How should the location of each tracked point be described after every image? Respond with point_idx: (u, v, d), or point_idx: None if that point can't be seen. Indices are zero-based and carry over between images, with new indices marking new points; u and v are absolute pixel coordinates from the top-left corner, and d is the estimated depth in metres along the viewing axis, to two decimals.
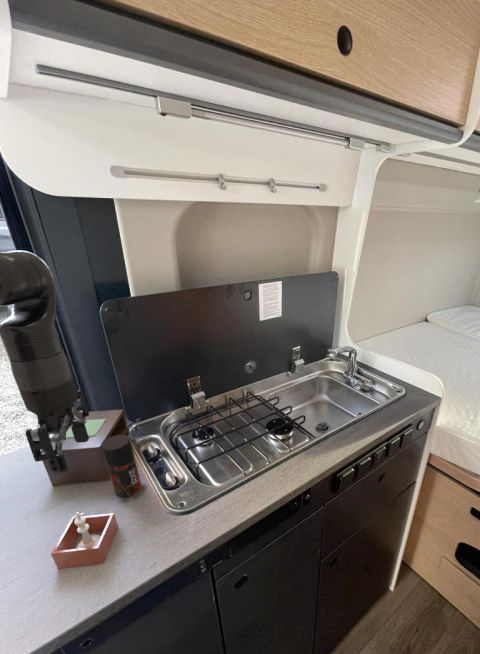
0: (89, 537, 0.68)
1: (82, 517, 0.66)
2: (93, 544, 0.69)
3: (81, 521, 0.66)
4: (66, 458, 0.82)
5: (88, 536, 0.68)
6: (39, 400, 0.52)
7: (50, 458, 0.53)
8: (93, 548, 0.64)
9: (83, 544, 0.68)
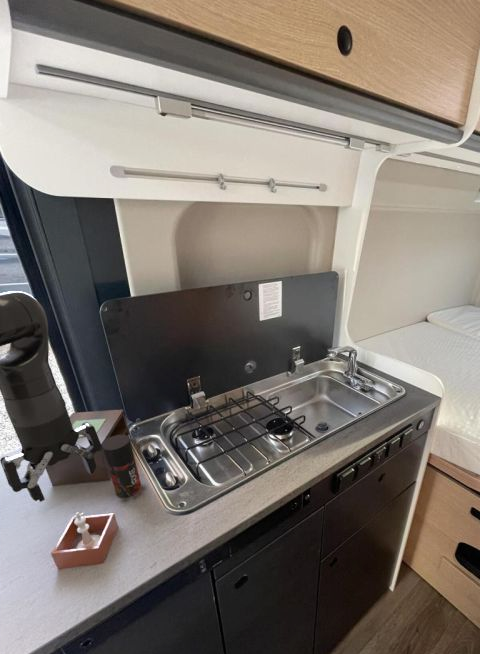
0: (89, 537, 0.68)
1: (82, 517, 0.66)
2: (93, 544, 0.69)
3: (81, 521, 0.66)
4: None
5: (88, 536, 0.68)
6: (17, 434, 0.53)
7: (13, 490, 0.54)
8: (93, 548, 0.64)
9: (83, 544, 0.68)
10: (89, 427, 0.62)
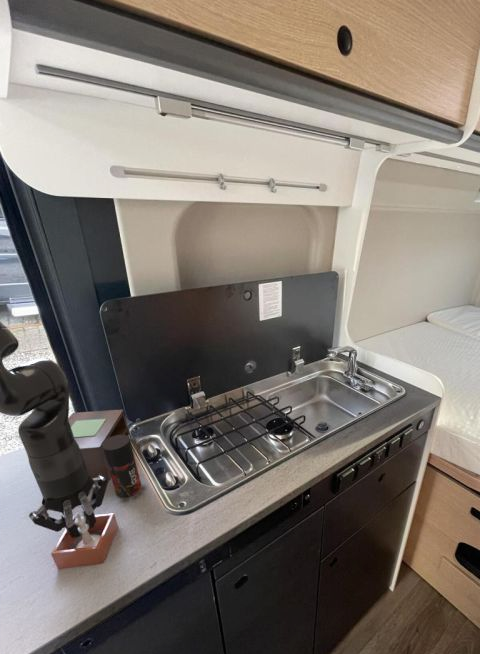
0: (89, 537, 0.68)
1: (82, 517, 0.66)
2: (93, 544, 0.69)
3: (81, 521, 0.66)
4: None
5: (88, 536, 0.68)
6: (39, 486, 0.58)
7: None
8: (93, 548, 0.64)
9: (83, 544, 0.68)
10: (105, 480, 0.67)
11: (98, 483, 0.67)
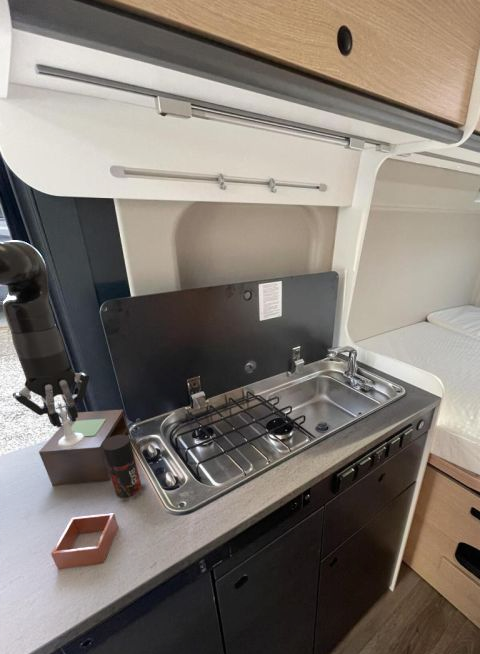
0: (71, 431, 0.72)
1: (64, 409, 0.71)
2: (74, 438, 0.73)
3: (63, 412, 0.70)
4: (66, 458, 0.82)
5: (70, 429, 0.72)
6: (22, 365, 0.62)
7: (38, 414, 0.66)
8: (93, 548, 0.64)
9: (65, 437, 0.72)
10: (86, 375, 0.71)
11: (80, 378, 0.71)
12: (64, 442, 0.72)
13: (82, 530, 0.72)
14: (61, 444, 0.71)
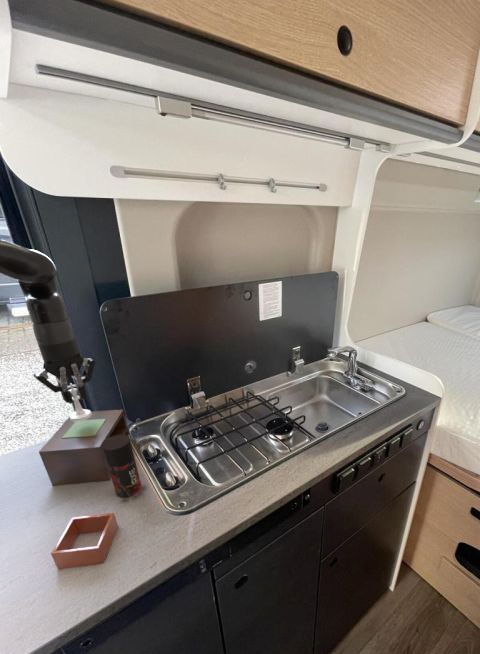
0: (80, 407, 0.86)
1: (74, 388, 0.85)
2: (83, 413, 0.87)
3: (74, 390, 0.84)
4: (66, 458, 0.82)
5: (79, 406, 0.86)
6: (41, 351, 0.76)
7: (53, 391, 0.80)
8: (93, 548, 0.64)
9: (75, 412, 0.86)
10: (92, 360, 0.85)
11: (87, 362, 0.85)
12: (75, 416, 0.86)
13: (82, 530, 0.72)
14: (72, 418, 0.85)
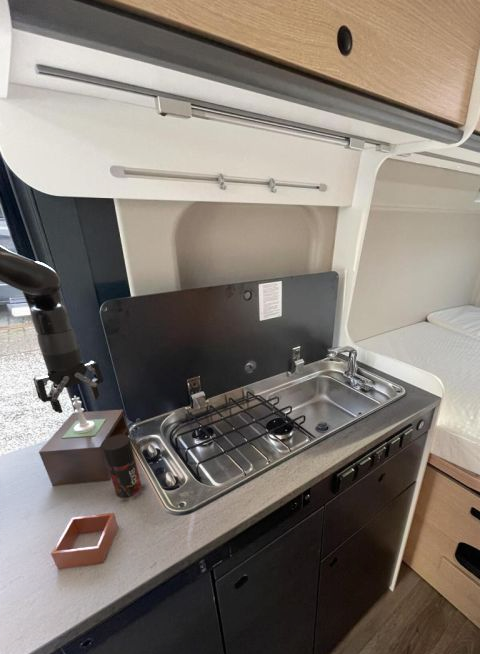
0: (84, 419, 0.88)
1: (78, 401, 0.86)
2: (87, 425, 0.88)
3: (78, 403, 0.85)
4: (66, 458, 0.82)
5: (83, 418, 0.88)
6: (45, 361, 0.77)
7: None
8: (93, 548, 0.64)
9: (79, 424, 0.88)
10: (94, 363, 0.86)
11: (91, 366, 0.86)
12: (79, 428, 0.87)
13: (82, 530, 0.72)
14: (76, 430, 0.87)
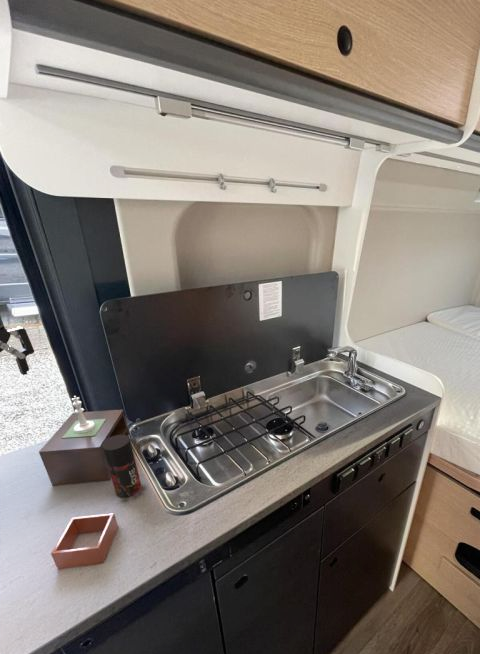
0: (84, 419, 0.88)
1: (78, 401, 0.86)
2: (87, 425, 0.88)
3: (78, 403, 0.85)
4: (66, 458, 0.82)
5: (83, 418, 0.88)
6: None
7: None
8: (93, 548, 0.64)
9: (79, 424, 0.88)
10: (20, 329, 0.70)
11: (17, 333, 0.70)
12: (79, 428, 0.87)
13: (82, 530, 0.72)
14: (76, 430, 0.87)
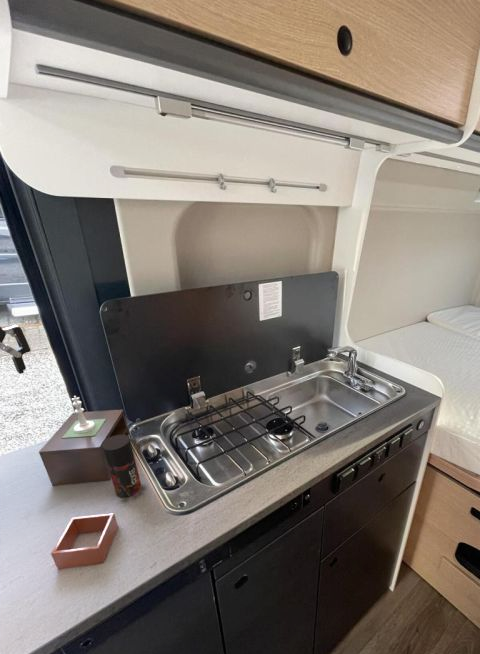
0: (84, 419, 0.88)
1: (78, 401, 0.86)
2: (87, 425, 0.88)
3: (78, 403, 0.85)
4: (66, 458, 0.82)
5: (83, 418, 0.88)
6: None
7: None
8: (93, 548, 0.64)
9: (79, 424, 0.88)
10: (16, 327, 0.69)
11: (12, 331, 0.69)
12: (79, 428, 0.87)
13: (82, 530, 0.72)
14: (76, 430, 0.87)
